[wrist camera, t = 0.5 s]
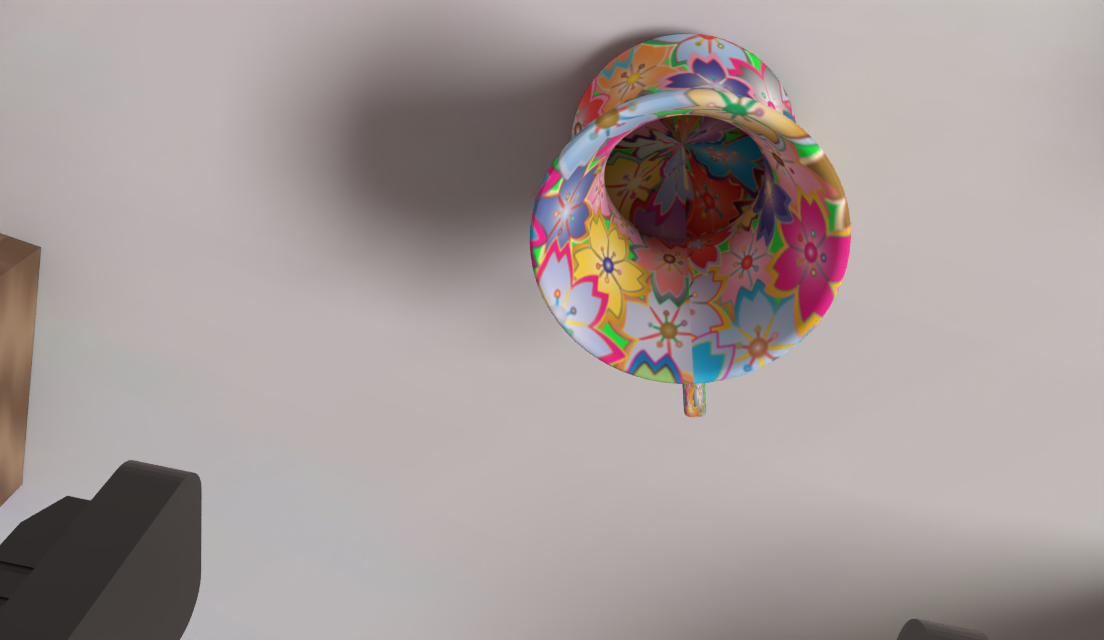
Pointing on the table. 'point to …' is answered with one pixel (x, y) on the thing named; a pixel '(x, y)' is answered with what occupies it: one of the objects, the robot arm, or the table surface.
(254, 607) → the table surface
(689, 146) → the mug
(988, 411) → the table surface
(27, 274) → the walnut collar
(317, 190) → the table surface
